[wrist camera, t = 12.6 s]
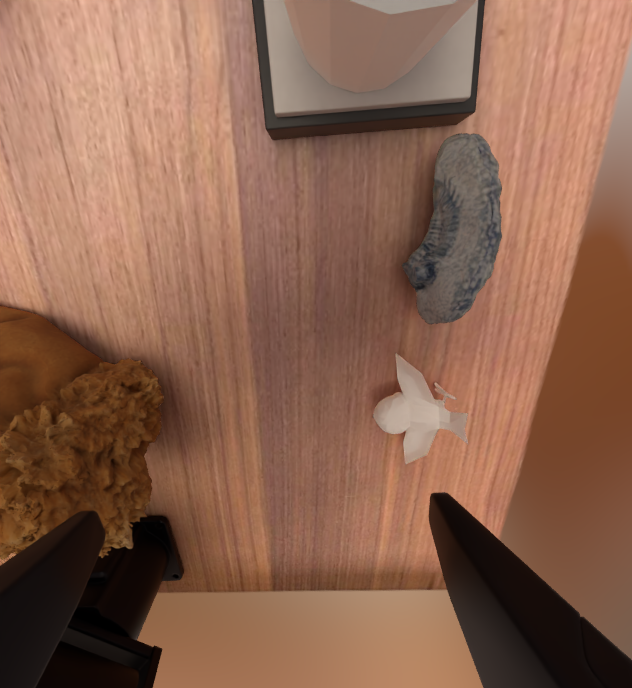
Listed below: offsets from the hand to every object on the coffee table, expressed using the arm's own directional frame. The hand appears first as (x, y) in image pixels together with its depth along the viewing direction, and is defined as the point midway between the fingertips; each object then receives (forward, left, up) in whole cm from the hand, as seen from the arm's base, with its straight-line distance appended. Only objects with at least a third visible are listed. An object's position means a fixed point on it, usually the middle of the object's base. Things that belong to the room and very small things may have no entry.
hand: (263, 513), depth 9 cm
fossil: (+6, -8, -12) cm, 16 cm away
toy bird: (-4, -7, -12) cm, 15 cm away
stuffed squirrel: (-2, +14, -12) cm, 18 cm away
